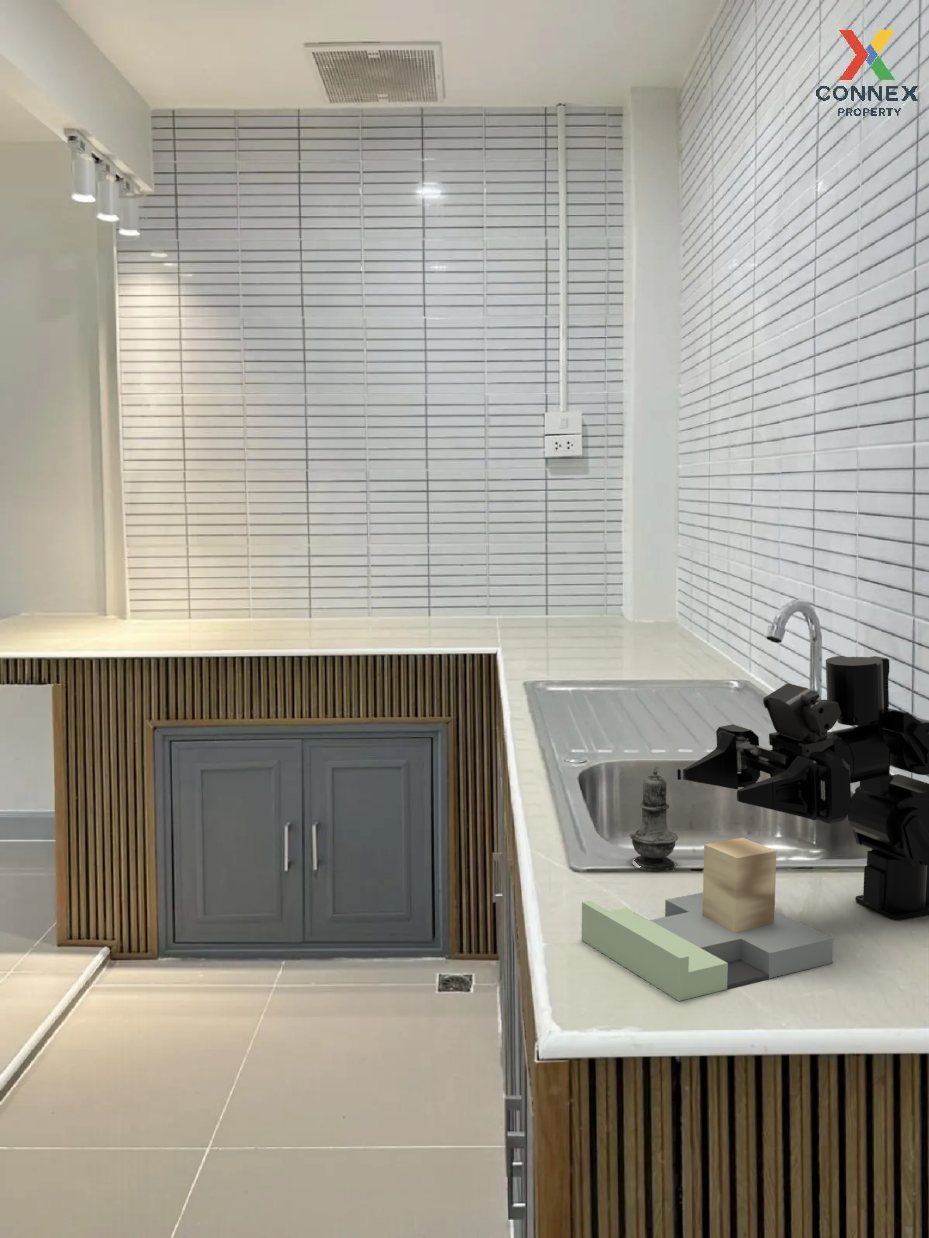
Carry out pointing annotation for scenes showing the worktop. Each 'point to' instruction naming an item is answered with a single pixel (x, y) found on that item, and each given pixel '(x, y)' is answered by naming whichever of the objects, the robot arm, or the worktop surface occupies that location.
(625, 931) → the board
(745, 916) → the beech block
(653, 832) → the salt shaker
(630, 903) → the worktop surface
